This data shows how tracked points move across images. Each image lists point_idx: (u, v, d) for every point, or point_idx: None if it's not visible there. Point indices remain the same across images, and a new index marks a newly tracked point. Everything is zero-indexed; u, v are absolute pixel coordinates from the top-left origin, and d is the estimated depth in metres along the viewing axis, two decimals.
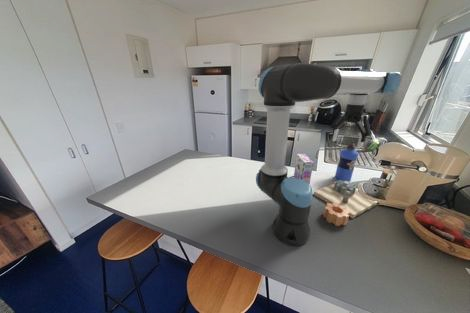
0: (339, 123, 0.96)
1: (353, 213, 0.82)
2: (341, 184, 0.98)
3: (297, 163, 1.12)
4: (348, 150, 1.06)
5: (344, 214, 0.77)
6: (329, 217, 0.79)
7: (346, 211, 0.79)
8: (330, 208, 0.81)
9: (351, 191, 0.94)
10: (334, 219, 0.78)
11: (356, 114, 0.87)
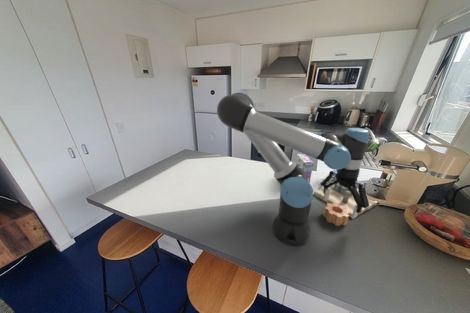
0: (330, 183, 0.80)
1: None
2: None
3: (297, 163, 1.12)
4: None
5: (344, 214, 0.77)
6: (329, 217, 0.79)
7: (346, 211, 0.79)
8: (330, 208, 0.81)
9: None
10: (334, 219, 0.78)
11: (350, 179, 0.71)
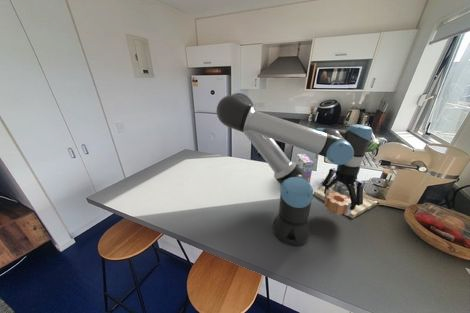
0: (331, 182, 0.79)
1: (353, 213, 0.82)
2: (341, 184, 0.98)
3: (297, 163, 1.12)
4: None
5: (346, 203, 0.75)
6: (330, 206, 0.77)
7: (348, 200, 0.77)
8: (331, 197, 0.79)
9: None
10: (335, 208, 0.76)
11: (350, 176, 0.71)
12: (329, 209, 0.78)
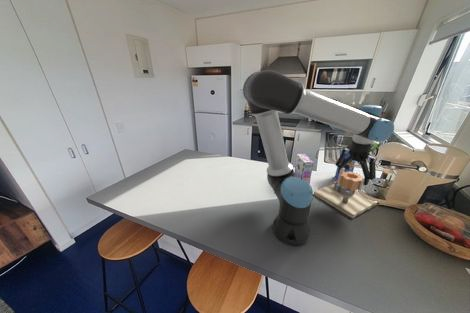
0: (344, 161, 0.85)
1: (353, 213, 0.82)
2: None
3: (297, 163, 1.12)
4: None
5: (359, 179, 0.81)
6: (345, 183, 0.83)
7: (361, 177, 0.83)
8: (345, 175, 0.85)
9: (351, 191, 0.94)
10: (350, 184, 0.82)
11: (363, 153, 0.77)
12: (344, 186, 0.84)
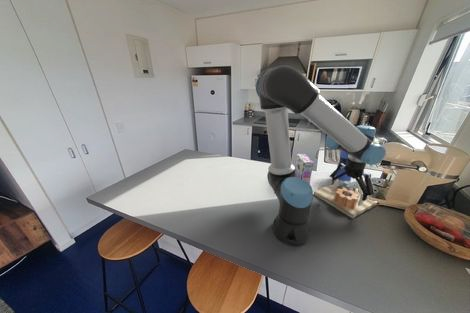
0: (339, 175, 0.89)
1: (353, 213, 0.82)
2: (341, 184, 0.98)
3: (297, 163, 1.12)
4: None
5: (353, 197, 0.85)
6: (340, 200, 0.87)
7: (355, 195, 0.87)
8: (340, 192, 0.89)
9: None
10: (344, 202, 0.86)
11: (357, 171, 0.81)
12: (339, 203, 0.88)
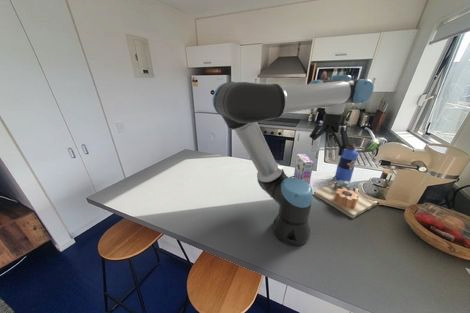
0: (317, 133, 0.87)
1: (353, 213, 0.82)
2: (341, 184, 0.98)
3: (297, 163, 1.12)
4: (348, 150, 1.06)
5: (353, 197, 0.85)
6: (340, 200, 0.87)
7: (355, 195, 0.87)
8: (340, 192, 0.89)
9: None
10: (344, 202, 0.86)
11: (333, 124, 0.79)
12: (339, 203, 0.88)
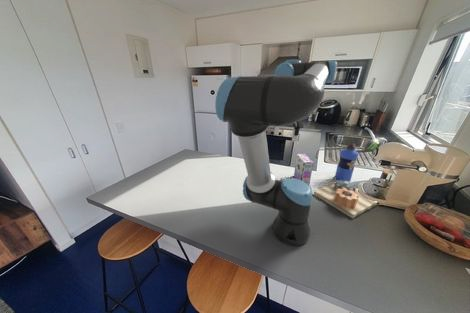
0: None
1: (353, 213, 0.82)
2: (341, 184, 0.98)
3: (297, 163, 1.12)
4: (348, 150, 1.06)
5: (353, 197, 0.85)
6: (340, 200, 0.87)
7: (355, 195, 0.87)
8: (340, 192, 0.89)
9: None
10: (344, 202, 0.86)
11: None
12: (339, 203, 0.88)
